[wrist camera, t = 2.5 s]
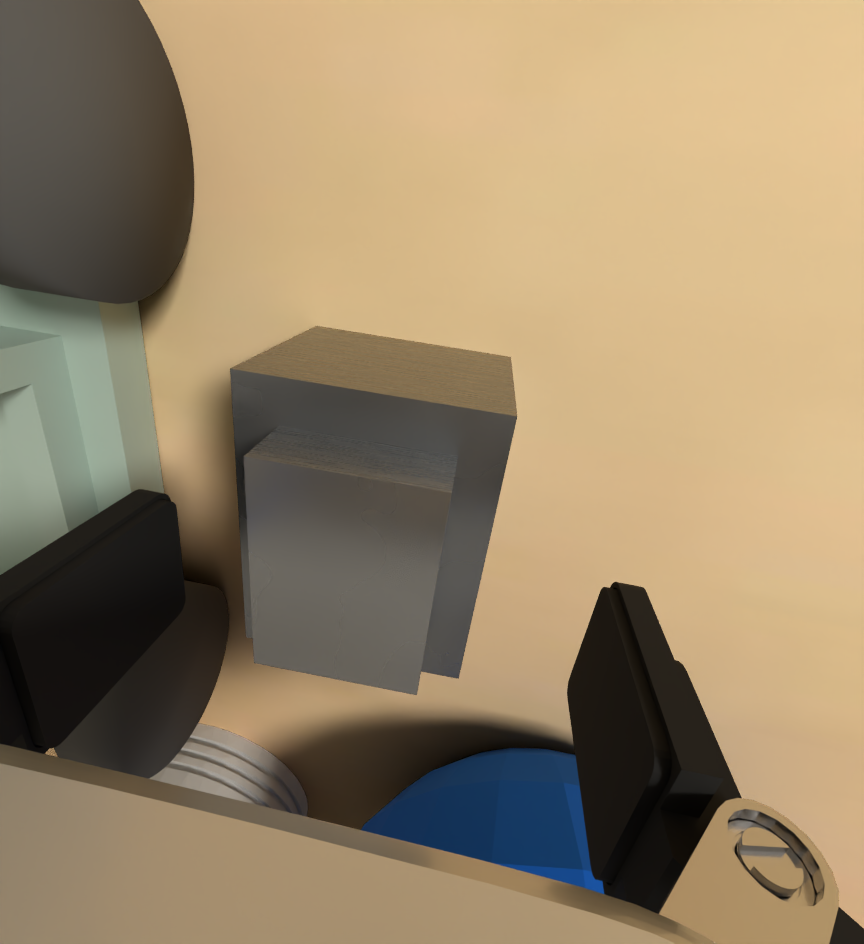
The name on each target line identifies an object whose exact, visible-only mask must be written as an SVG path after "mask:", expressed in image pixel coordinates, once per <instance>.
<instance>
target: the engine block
mask: <svg viewBox="0 0 864 944" xmlns="http://www.w3.org/2000/svg"><path fill="white" fill-rule="evenodd" d="M230 374H231V391H232V408H233V425H234V442H235V459H236V476H237V493H238V510H239V527H240V544H241V560H242V577H243V594H244V611H245V628H246V637H248V638H253V652H254V663H257V664H262V665H267V666H272V667H277V668H282V669H287V670H292V671H297V672H302V673H307V674H312V675H317V676H323V677H328V678H333V679H338V680H343V681H348V682H353V683H358V684H363V685H368V686H373V687H378V688H383V689H388V690H393V691H398V692H403V693H408V694H413V695H417V691H418V685H419V679H420V674H421V671H422V672H427V673H432V674H437V675H442V676H447V677H453V678H459V674H460V669H461V665H462V660H463V656H464V652H465V647H466V643H467V638H468V634H469V629H470V625H471V620H472V616H473V611H474V607H475V602H476V598H477V594H478V589H479V585H480V580H481V576H482V571H483V567H484V562H485V558H486V553H487V549H488V544H489V540H490V536H491V531H492V527H493V522H494V518H495V513H496V509H497V504H498V500H499V495H500V491H501V486H502V482H503V478H504V473H505V469H506V464H507V460H508V455H509V451H510V446H511V442H512V437H513V433H514V428H515V424H516V420H517V410H516V401H515V391H514V382H513V373H512V363H511V357H507V356H501V355H495V354H489V353H482V352H476V351H470V350H464V349H457V348H451V347H445V346H439V345H432V344H426V343H420V342H414V341H407V340H401V339H395V338H389V337H382V336H376V335H370V334H364V333H357V332H351V331H345V330H339V329H332V328H326V327H320V326H316V327H314V328H311V329H309V330H307V331H305V332H303V333H301V334H299V335H297V336H295V337H293V338H291V339H289V340H287V341H285V342H283V343H281V344H279V345H277V346H275V347H273V348H271V349H269V350H267V351H265V352H263V353H261V354H259V355H257V356H255V357H253V358H251V359H249V360H247V361H245V362H243V363H241V364H239V365H237V366H235V367H233V368H231V369H230Z"/></svg>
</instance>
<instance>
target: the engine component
mask: <svg viewBox="0 0 864 944" xmlns="http://www.w3.org/2000/svg"><path fill="white" fill-rule="evenodd" d="M148 779H152V780H156V781H160V782H165V783H169V784H173V785H177V786H181V787H185V788H190V789H194V790H198V791H202V792H206V793H210V794H214V795H219V796H223V797H227V798H231V799H235V800H239V801H243V802H248V803H252V804H256V805H260V806H264V807H268V808H272V809H276V810H280V811H285V812H289V813H293V814H297V815H301V816H305V817H306V816H307V812H308V804H307V798H306V795H305V792H304V790H303V788H302V786H301V785H300V783H299V781H298V779H297V778H296V777H295V776H294V775H293V773H292V772H291V771H290V770H289V769H288V767H287V766H286V765H284V764H283V763H282V762H281V761H280V760H279V759H277V758H276V757H275V756H274V755H272V754H271V753H270V752H268V751H267V750H265V749H264V748H262V747H260V746H259V745H257V744H255V743H253V742H251V741H249V740H248V739H246V738H244V737H241V736H239V735H236V734H234V733H232V732H229V731H226V730H223V729H220V728H217V727H213V726H209V725H204V724H199V723H198V724H197V726H196V728H195V729H194V731H193V733H192V734H191V736H190V737H189V739H188V740H187V742H186V743H185V745H184V746H183V747H182V749H181V750H180V752H179V753H178V754H177V755H176V756H175V758H174V759H173V760H172V761H171V762H170V763H169V764H168V765H167V766H166V767H165V768H164V769H162V770H161V771H160V772H159V773H157V774H156V775H154V776H153V777H151V778H148Z"/></svg>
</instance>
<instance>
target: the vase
mask: <svg viewBox="0 0 864 944" xmlns="http://www.w3.org/2000/svg"><path fill="white" fill-rule="evenodd" d="M361 830H362V831H366V832H370V833H374V834H378V835H382V836H386V837H390V838H394V839H398V840H402V841H406V842H410V843H414V844H418V845H423V846H427V847H431V848H435V849H439V850H443V851H447V852H451V853H455V854H459V855H463V856H467V857H471V858H475V859H479V860H483V861H486V862H490V863H494V864H498V865H501V866H505V867H509V868H512V869H516V870H520V871H524V872H527V873H531V874H535V875H539V876H542V877H546V878H550V879H554V880H557V881H561V882H565V883H568V884H572V885H576V886H580V887H583V888H586V889H589V890H592V891H595V892H598V893H602V894H604V889H603V882H602V881H600V880H596V879H595V878H594V877H593V874H592V871H591V866H590V858H589V851H588V844H587V836H586V829H585V822H584V814H583V807H582V800H581V792H580V785H579V778H578V771H577V763H576V756H575V755H573V754H568V753H564V752H559V751H554V750H549V749H535V748H507V749H500V750H493V751H486V752H481V753H478V754H475V755H473V756H470V757H467V758H464V759H461V760H458V761H456V762H453V763H451V764H448V765H446V766H443V767H441V768H438V769H436V770H433V771H430V772H429V773H427V774H426V775H424V776H423V777H422V778H420V779H419V780H417V781H416V782H414V783H413V784H411V785H410V786H408V787H407V788H406V789H404V790H403V791H402V792H401V793H400V794H399V795H397V796H396V797H395V798H394V799H393V800H392V801H391V802H389V803H388V804H387V805H386V806H385V807H384V808H383V809H381V810H380V811H379V812H378V813H377V814H376V815H374V816H373V817H372V818H371V819H370V820H369V821H368V822H366V823H365V824H364V826H363V827H362V829H361Z"/></svg>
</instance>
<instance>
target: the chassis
mask: <svg viewBox="0 0 864 944" xmlns="http://www.w3.org/2000/svg"><path fill="white" fill-rule="evenodd" d="M193 203H194V167H193V156H192V147H191V140H190V134H189V128H188V123H187V119H186V115H185V110H184V106H183V102H182V99H181V95H180V92H179V88H178V85H177V82H176V79H175V76H174V74H173V71H172V68H171V65H170V62H169V60H168V58H167V55H166V53H165V50H164V48H163V46H162V43H161V41H160V39H159V37H158V35H157V33H156V31H155V29H154V27H153V25H152V23H151V21H150V19H149V17H148V16H147V14H146V12H145V10H144V9H143V7H142V5H141V4H140V2H139V0H0V575H1V574H3V573H4V572H6V571H7V570H9V569H11V568H12V567H14V566H15V565H17V564H18V563H20V562H22V561H23V560H25V559H26V558H28V557H30V556H31V555H33V554H34V553H36V552H38V551H39V550H41V549H42V548H44V547H46V546H47V545H49V544H50V543H52V542H54V541H55V540H57V539H58V538H60V537H61V536H63V535H65V534H66V533H68V532H69V531H71V530H73V529H74V528H76V527H77V526H79V525H81V524H82V523H84V522H85V521H87V520H89V519H90V518H92V517H93V516H95V515H97V514H98V513H100V512H101V511H103V510H104V509H106V508H108V507H109V506H111V505H112V504H114V503H116V502H117V501H119V500H120V499H122V498H124V497H125V496H127V495H128V494H130V493H132V492H133V491H135V490H138V489H144V490H149V491H154V492H159V493H164V487H163V480H162V473H161V465H160V458H159V451H158V444H157V436H156V429H155V422H154V414H153V407H152V400H151V393H150V385H149V378H148V371H147V363H146V356H145V349H144V342H143V334H142V327H141V320H140V312H139V305H138V301H139V300H142V299H144V298H146V297H148V296H150V295H152V294H153V293H154V292H155V291H157V290H158V289H159V288H161V287H162V286H163V284H164V283H165V282H166V281H167V280H168V279H169V278H170V276H171V275H172V273H173V272H174V270H175V269H176V267H177V265H178V263H179V261H180V259H181V257H182V254H183V251H184V249H185V246H186V243H187V239H188V235H189V232H190V226H191V221H192V214H193ZM184 585H185V595H186V601H185V605H184V608H183V610H182V612H181V613H180V614H179V616H178V617H177V618H176V619H175V620H174V621H173V622H172V623H171V624H170V625H169V627H168V628H167V629H166V630H165V631H164V632H163V633H162V634H161V635H160V636H159V637H158V639H157V640H156V641H155V642H154V643H153V644H152V645H151V646H150V647H149V648H148V649H147V651H146V652H145V653H144V654H143V655H142V656H141V657H140V658H139V659H138V660H137V661H136V663H135V664H134V665H133V666H132V667H131V668H130V669H129V670H128V671H127V672H126V674H125V675H124V676H123V677H122V678H121V679H120V680H119V681H118V682H117V683H116V684H115V686H114V687H113V688H112V689H111V690H110V691H109V692H108V693H107V694H106V695H105V696H104V698H103V699H102V700H101V701H100V702H99V703H98V704H97V705H96V706H95V707H94V708H93V710H92V711H91V712H90V713H89V714H88V715H87V716H86V717H85V718H84V719H83V720H82V722H81V723H80V724H79V725H78V726H77V727H76V728H75V729H74V730H73V731H72V732H71V734H70V735H69V736H68V737H67V738H66V739H65V740H64V741H63V742H62V743H61V744H60V745H58V746H56V747H54V749H55V752H56V754H57V756H58V757H59V758H63V759H67V760H72V761H76V762H80V763H84V764H89V765H93V766H97V767H101V768H106V769H110V770H114V771H118V772H123V773H127V774H131V775H135V776H139V777H144V778H151V777H153V776H154V775H156V774H157V773H159V772H160V771H161V770H162V769H164V768H165V767H166V766H167V765H168V764H169V763H170V762H171V761H172V760H173V759H174V758H175V756H176V755H177V754H178V753H179V752H180V750H181V749H182V747H183V746H184V745H185V743H186V742H187V740H188V739H189V737H190V736H191V734H192V733H193V731H194V729H195V728H196V726H197V724H198V722H199V720H200V718H201V717H202V715H203V713H204V711H205V708H206V706H207V704H208V702H209V700H210V697H211V695H212V693H213V690H214V687H215V685H216V682H217V679H218V676H219V673H220V670H221V666H222V662H223V659H224V654H225V650H226V644H227V638H228V628H229V613H228V606H227V602H226V599H225V597H224V594H223V593H222V592H221V590H220V589H218V588H217V587H215V586H211V585H206V584H201V583H196V582H191V581H185V580H184Z"/></svg>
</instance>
